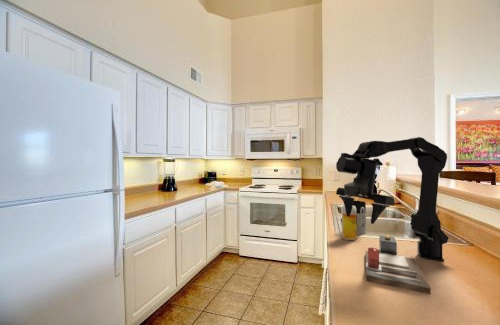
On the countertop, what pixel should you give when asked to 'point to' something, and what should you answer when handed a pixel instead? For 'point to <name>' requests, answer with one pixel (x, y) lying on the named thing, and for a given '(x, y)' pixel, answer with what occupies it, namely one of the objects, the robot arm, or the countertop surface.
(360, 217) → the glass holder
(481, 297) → the countertop surface
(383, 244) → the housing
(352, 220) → the beer can
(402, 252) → the countertop surface
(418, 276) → the base
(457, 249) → the countertop surface
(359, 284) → the countertop surface
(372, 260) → the lever
